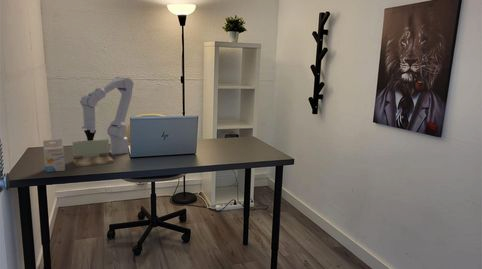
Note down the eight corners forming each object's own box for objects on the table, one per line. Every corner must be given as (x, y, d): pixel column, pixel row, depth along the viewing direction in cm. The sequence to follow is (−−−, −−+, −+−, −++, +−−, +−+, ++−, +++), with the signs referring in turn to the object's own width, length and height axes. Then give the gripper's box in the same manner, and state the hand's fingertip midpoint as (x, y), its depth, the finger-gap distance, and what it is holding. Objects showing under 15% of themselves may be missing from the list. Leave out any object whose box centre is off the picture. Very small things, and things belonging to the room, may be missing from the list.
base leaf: (108, 156, 201) (107, 152, 201) (113, 162, 192) (113, 157, 191) (73, 160, 191) (72, 156, 191) (76, 166, 182) (76, 161, 182)
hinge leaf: (108, 156, 200) (108, 154, 201) (108, 139, 196) (108, 138, 198) (73, 159, 190) (72, 158, 191) (72, 142, 187) (72, 141, 188)
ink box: (45, 172, 171) (43, 142, 168) (44, 169, 175) (42, 140, 172) (65, 170, 176) (63, 141, 173) (63, 167, 180) (62, 138, 177)
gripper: (78, 116, 194) (80, 140, 197) (83, 121, 183) (85, 146, 185) (92, 115, 198) (93, 139, 201) (98, 120, 186) (99, 145, 189)
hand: (90, 143), depth 193 cm, fingers closed
